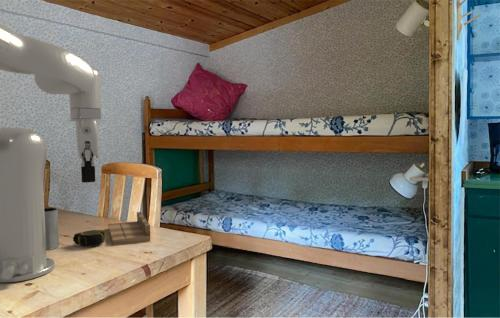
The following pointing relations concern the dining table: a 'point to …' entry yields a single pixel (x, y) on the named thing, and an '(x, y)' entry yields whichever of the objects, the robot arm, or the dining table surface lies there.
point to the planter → (51, 228)
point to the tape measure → (89, 238)
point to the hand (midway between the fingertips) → (88, 179)
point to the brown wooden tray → (130, 231)
